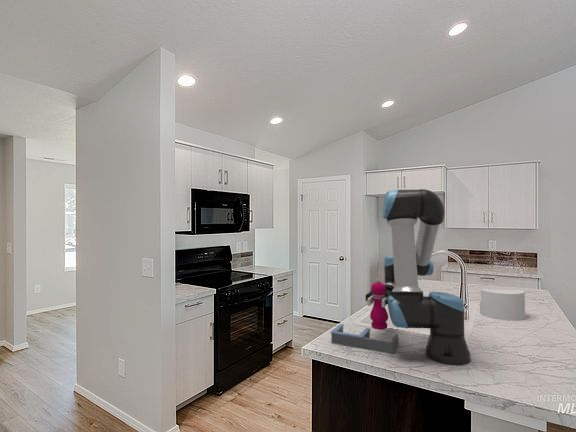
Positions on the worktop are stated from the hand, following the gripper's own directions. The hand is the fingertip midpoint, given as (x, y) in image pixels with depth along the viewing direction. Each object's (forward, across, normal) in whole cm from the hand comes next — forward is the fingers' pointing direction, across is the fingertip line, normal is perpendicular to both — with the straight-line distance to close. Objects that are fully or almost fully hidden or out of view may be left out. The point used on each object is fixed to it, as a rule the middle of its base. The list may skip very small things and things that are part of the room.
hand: (375, 303), depth 133 cm
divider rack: (-5, +6, -18) cm, 20 cm away
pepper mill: (-5, 0, -11) cm, 12 cm away
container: (-75, -47, -18) cm, 90 cm away
